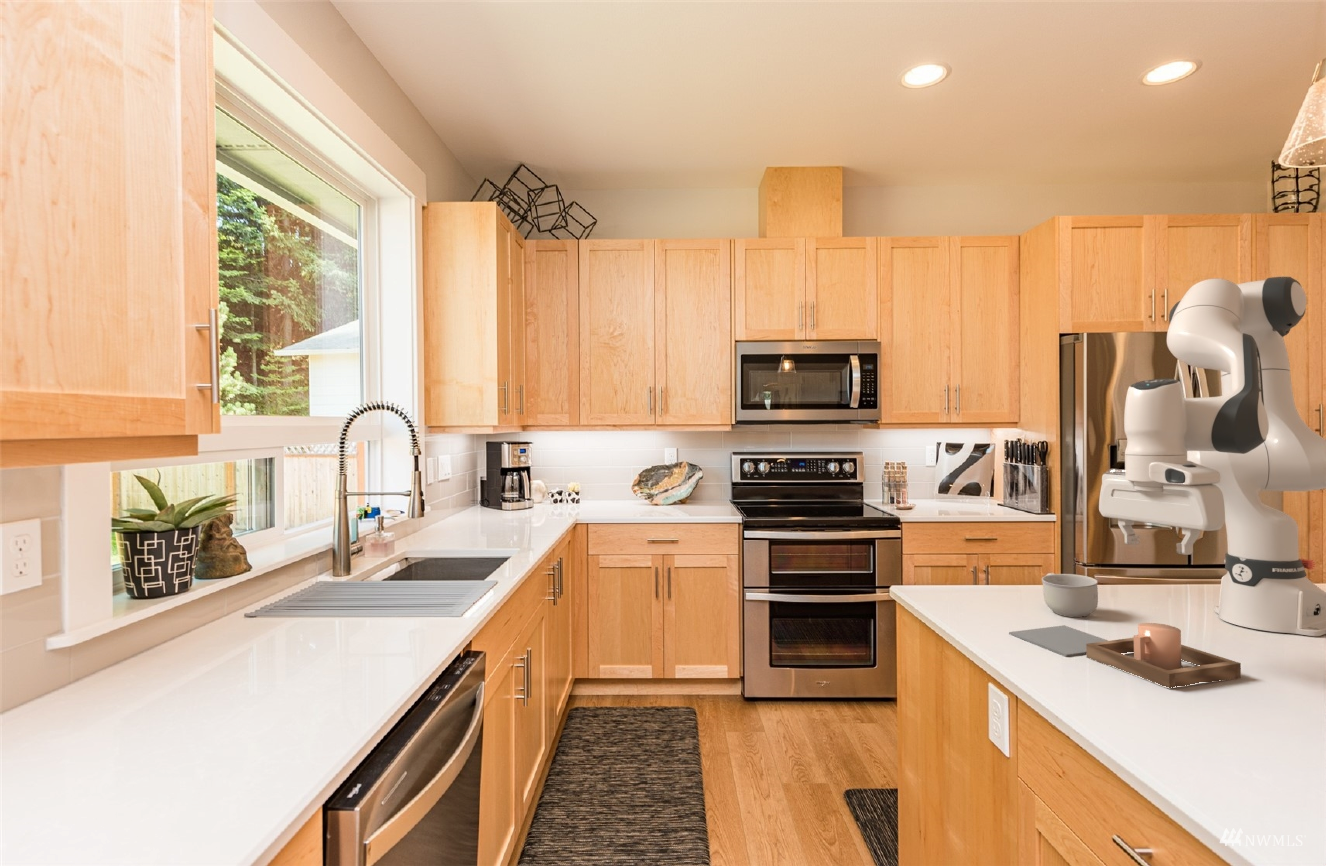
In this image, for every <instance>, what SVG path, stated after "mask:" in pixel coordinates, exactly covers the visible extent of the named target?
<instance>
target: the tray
mask: <svg viewBox="0 0 1326 866" xmlns="http://www.w3.org/2000/svg"><path fill="white" fill-rule="evenodd" d="M1127 652H1134V637H1128V638H1121V639H1113V640H1108V641H1104V642H1096V643H1089V644H1086V654H1085V655H1086V659H1087V658H1088V659H1090V658H1091V659H1090V660H1092V659H1093V661H1095V660H1096V662H1097V663H1100V662H1102V663H1101V664H1103V663H1104V664H1103V665H1105V664H1106V666H1108V665H1111V666H1114V667H1116V668H1118V669H1121V670H1124V671H1126V672H1129V673H1132V674H1134V675H1137V676H1140V677H1142V678H1144V679H1148V680H1150V681H1152V682H1156V683H1158V684H1160V685H1162V686H1166V687H1169V688H1171V687H1172V688H1173V687H1175V686H1176V687H1177V686H1185V685H1186V686H1187V685H1190V684H1195V683H1199V682H1212V681H1218V682H1223V681H1222V680H1225V681H1230V680H1229V679H1231V680H1237V679H1241V678H1242V669H1241V668H1242V667H1241V665H1242V664H1241V662H1239V661H1235V660H1231V659H1228V658H1225V657H1222V656H1219V655H1215V654H1212V653H1209V652H1206V651H1203V650H1200V649H1197V648H1193V647H1191V646H1187V645H1184V644H1181V659H1182V660H1184V661H1187V662H1191V663H1193V664H1196V665H1200V666H1196V665H1193V664H1192V665H1193V666H1187V667H1182V668H1181V669H1174V670H1165V669H1162V668H1159V667H1157V666H1154V665H1151V664H1148V663H1145V662H1143V661H1140V660H1138V659H1135V658H1134V657H1131V656H1128V655H1123V654H1121V653H1127ZM1184 661H1183V662H1184ZM1187 662H1186V663H1187ZM1111 666H1110V667H1111ZM1116 668H1115V669H1116ZM1118 669H1117V670H1118ZM1121 670H1120V671H1121ZM1124 671H1123V672H1124ZM1126 672H1125V673H1126ZM1129 673H1128V674H1129ZM1134 675H1133V676H1134ZM1142 678H1141V679H1142ZM1144 679H1143V680H1144ZM1219 680H1221V681H1219ZM1152 682H1151V683H1152ZM1212 683H1213V682H1212ZM1160 685H1159V686H1160ZM1162 686H1161V687H1162ZM1187 687H1188V686H1187Z"/></svg>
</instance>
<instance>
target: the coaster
mask: <svg viewBox="0 0 1326 866" xmlns="http://www.w3.org/2000/svg"><path fill="white" fill-rule="evenodd" d="M1008 634H1009V635H1010V634H1011V636H1013V637H1016V638H1018V639H1021V640H1023V641H1025V642H1028V643H1031V644H1033V645H1036V646H1038V647H1041V648H1043V649H1046V650H1048V651H1051V652H1053V653H1055V654H1058V655H1061V656H1063V657H1065V658H1066V657H1074V655H1076V656H1082V655H1087V654H1086V644H1089V643H1096V642H1104V641H1109V640H1108V639H1105V638H1102V637H1100V636H1096V635H1094V634H1090V633H1088V632H1085V631H1082V630H1080V629H1076V628H1073V627H1070V626H1067V625H1057V626H1049V627H1040V628H1031V629H1024V630H1016V631H1014V630H1013V631H1009V632H1008Z"/></svg>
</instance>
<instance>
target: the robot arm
mask: <svg viewBox="0 0 1326 866" xmlns="http://www.w3.org/2000/svg"><path fill="white" fill-rule="evenodd" d="M1307 303H1308V302H1307V294H1306V292H1305V290H1304V288H1303V286H1302V285H1301V284H1300V282H1299V281H1298V280H1297V279H1295V278H1293V277H1291V276H1271V277H1268V278H1266V279H1262V280H1255V281H1253V280H1252V281H1247V282H1242V283H1234V282H1233V281H1231V280H1228V279H1224V278H1208V279H1204V280H1201V281H1199V282H1196V283H1195V284H1193V285H1192V286H1191V287H1189V289H1188V290H1187V291H1186V292H1185V293H1184V295H1183V296H1182V298H1181V300H1179V301H1178V302H1176V303H1175V304H1174V306H1173V307H1171V309H1170V311H1169V314H1168V323H1169V326H1168V329H1167V333H1166V346H1167V348H1168V350H1169V351H1170V353H1171V354H1172V356H1174V357H1175V358H1176V359H1177V360H1179V361H1180V362H1182V363H1183V364H1185V365H1188V366H1190V367H1194V368H1198V369H1206V370H1214V371H1218V372H1219V371H1220V385H1221V386H1220V387H1221V395H1220V396H1219V395H1218V396H1209V397H1208V396H1207V397H1205V396H1203V397H1185V396H1184V390H1183V386H1182V384H1181V381H1180V380H1176V379H1174V378H1157V379H1156V378H1155V379H1147V380H1141V381H1140V380H1139V381H1137V382H1134V383H1132V384H1131V385H1129V386H1128V389H1127V391H1126V397H1125V403H1124V412H1123V413H1124V415H1123V422H1124V423H1123V425H1124V427H1123V428H1124V429H1123V430H1124V434H1125V436H1126V439H1127V441H1126V443H1127V444H1126V447H1125V451H1124V469H1123V468H1122V469H1119V468H1109V469H1108V470H1106V471H1105V472H1104V473H1103V474H1102V476H1101V487H1100V493H1099V501H1098V510H1099V513H1100V514H1101V516H1102V517H1104V518H1111V519H1117V525H1118V527H1119V528H1120V530H1121V532H1122V534H1123V536H1124V544H1125V545H1129V546H1139V545H1140V543H1141V541H1140V535H1139V534H1136V533H1135V530H1134V528H1133V526H1135V522H1137V523H1138V522H1140V523H1146V524H1147V523H1148V524H1153V525H1160V526H1169V527H1176V528H1181V535H1185V536H1184V537H1183V539H1182V541H1181V542H1176V544H1175V547H1176V550H1175V551H1176V553H1177V554H1179V555H1185V556H1187V555H1188V556H1189V555H1193V553H1194V546H1193V545H1194V544H1195V543H1196V541H1197V540H1198V538H1199V537H1200V535H1201V531H1203V532H1206V531H1207V532H1209V531H1210V532H1211V531H1219V530H1221V529H1222V527H1224V525H1225V530H1226V539H1227V552H1225V557H1224V561H1223V562H1224V565H1225V566H1224V568H1225V570H1226V571H1227V572H1226V574H1224V575H1223V576H1222V577H1221V582H1220V591H1219V602H1218V603H1219V604H1218V605H1217V606H1214V609H1213V610H1214V612H1215V613H1216V614H1218V618H1219V619H1221V620H1222V621H1224V622H1227V623H1230V624H1232V625H1235V626H1236V625H1237V626H1239V627H1245V628H1249V629H1254V630H1259V631H1266V632H1273V633H1286V634H1296V635H1304V636H1310V637H1320V636H1323V635H1326V592H1325V590H1324V589H1323V590H1322V589H1321V588H1320V587H1319V586H1317V585H1316V584H1315V583H1314V582H1313V581H1311V580H1310V579H1309V578H1308V577H1307V573H1306V570H1314V568H1315V565H1316V563H1315V561H1314V559H1305V558H1303V557H1302V558H1300V551H1299V549H1300V548H1299V545H1300V544H1299V543H1300V542H1299V525H1298V523H1297V522H1296V520H1295V519H1294V518H1293V517H1292V516H1291V515H1289V514H1287V513H1286V512H1285V511H1281V510H1279V509H1277V508H1275V507H1272V506H1269V505H1267V504H1265V503H1262V501H1261V498H1260V496H1259V492H1263V491H1266V492H1267V491H1268V492H1269V491H1270V492H1310V491H1311V492H1313V491H1319V490H1326V438H1324V437H1322V436H1321V435H1320V434H1318V433H1316V432H1315V431H1314V430H1312V429H1311V428H1310V427H1309V426H1308V425H1307V423H1306V422H1305V421H1304V420H1303V419H1302V417H1301V415H1300V414H1299V412H1298V409H1297V407H1296V404H1295V399H1294V393H1293V386H1292V378H1291V377H1292V376H1291V367H1290V366H1291V365H1290V359H1289V354H1288V350H1287V345H1286V343H1285V340H1284V337H1285V336H1287V335H1288V334H1289V333H1290V331H1291V330H1292V328H1294V327H1296V326H1297V325H1298V324H1299V323H1300V322H1301V320H1302V319H1303V317H1304V316H1305V314H1306V310H1307V309H1306V307H1307Z"/></svg>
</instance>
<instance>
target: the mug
mask: <svg viewBox="0 0 1326 866" xmlns="http://www.w3.org/2000/svg"><path fill="white" fill-rule="evenodd" d="M1137 630H1138V631H1137V633H1138V634H1136V635H1133V638H1134V654H1133V658H1134V659H1137V660H1140V661H1143V662H1145V663H1148V664H1151V665H1154V666H1157V667H1159V668H1162V669H1165V670H1174V669H1181V668H1183V667H1182V661H1181V645H1182V631H1181V628H1178V627H1176V626H1172V625H1168V624H1163V623H1159V622H1158V623H1157V622H1141V623H1138V625H1137Z"/></svg>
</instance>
